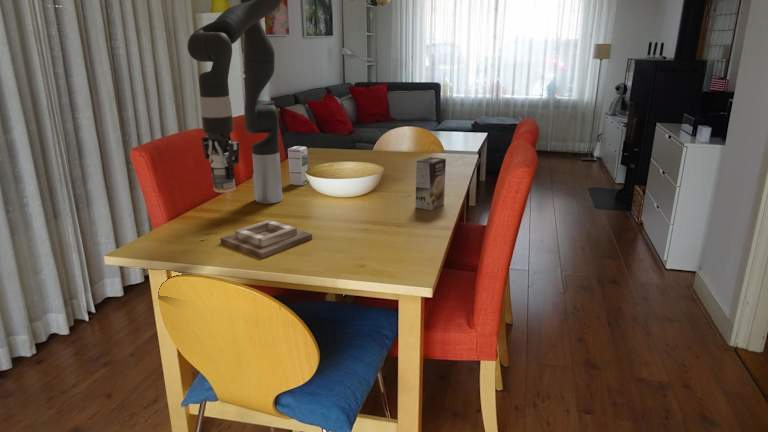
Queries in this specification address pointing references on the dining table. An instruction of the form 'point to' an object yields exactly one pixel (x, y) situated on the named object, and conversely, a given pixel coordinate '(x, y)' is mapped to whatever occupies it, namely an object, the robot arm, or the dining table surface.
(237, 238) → the socket block
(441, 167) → the coffee box
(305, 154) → the syrup box
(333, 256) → the dining table surface
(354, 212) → the dining table surface
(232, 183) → the pill bottle
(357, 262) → the dining table surface
